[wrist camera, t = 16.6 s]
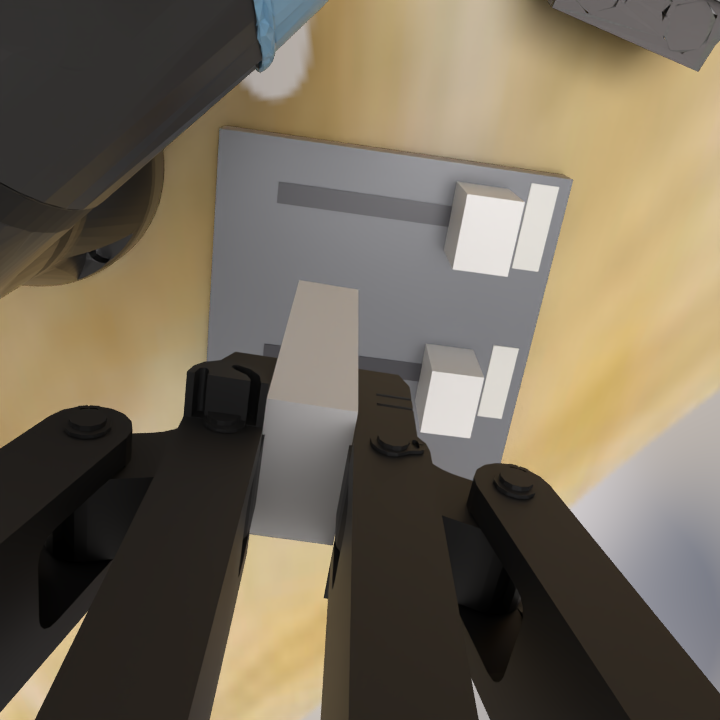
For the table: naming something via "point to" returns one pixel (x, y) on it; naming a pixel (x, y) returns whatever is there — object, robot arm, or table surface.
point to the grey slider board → (392, 269)
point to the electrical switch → (655, 24)
